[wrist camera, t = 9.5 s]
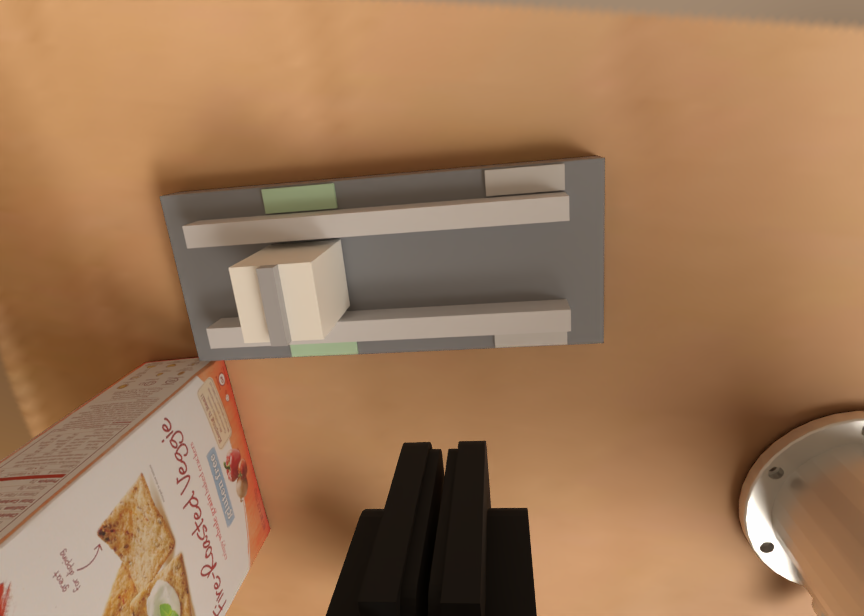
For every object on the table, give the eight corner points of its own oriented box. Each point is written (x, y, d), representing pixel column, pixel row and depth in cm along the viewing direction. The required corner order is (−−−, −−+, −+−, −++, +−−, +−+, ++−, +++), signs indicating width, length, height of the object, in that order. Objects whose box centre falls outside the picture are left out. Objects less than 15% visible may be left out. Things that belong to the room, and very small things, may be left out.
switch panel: (597, 330, 32) (610, 356, 29) (214, 348, 35) (183, 374, 32) (597, 155, 29) (612, 160, 26) (178, 191, 32) (139, 200, 29)
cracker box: (278, 527, 40) (67, 929, 20) (201, 531, 40) (-75, 919, 21) (229, 349, 35) (-100, 635, 16) (144, 357, 36) (-270, 637, 16)
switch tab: (350, 305, 31) (320, 344, 26) (282, 309, 32) (239, 348, 26) (340, 239, 30) (306, 265, 24) (270, 244, 30) (222, 270, 25)
